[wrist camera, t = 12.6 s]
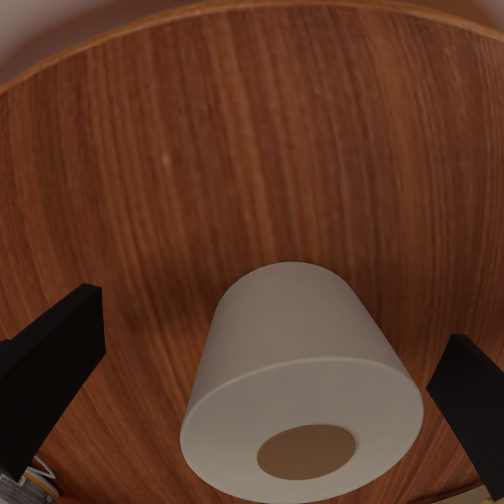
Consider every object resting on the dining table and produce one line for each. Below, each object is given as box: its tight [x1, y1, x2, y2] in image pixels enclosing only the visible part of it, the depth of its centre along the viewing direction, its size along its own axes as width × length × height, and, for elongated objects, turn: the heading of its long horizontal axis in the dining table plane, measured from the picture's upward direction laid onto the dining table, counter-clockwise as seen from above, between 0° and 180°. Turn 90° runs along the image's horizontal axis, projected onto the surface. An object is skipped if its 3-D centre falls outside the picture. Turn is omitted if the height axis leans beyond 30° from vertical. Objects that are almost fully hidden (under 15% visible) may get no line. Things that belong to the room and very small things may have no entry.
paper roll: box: [180, 262, 424, 504], centre depth 8 cm, size 6×6×6 cm
